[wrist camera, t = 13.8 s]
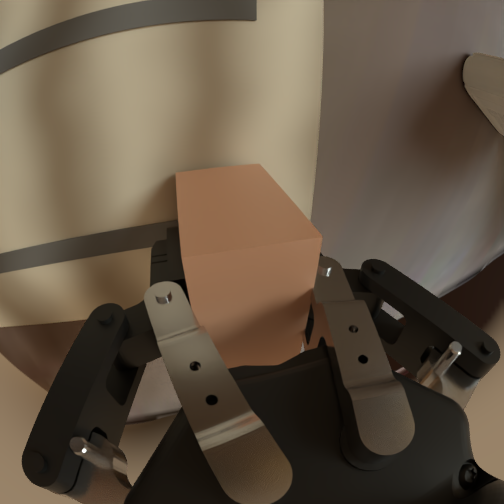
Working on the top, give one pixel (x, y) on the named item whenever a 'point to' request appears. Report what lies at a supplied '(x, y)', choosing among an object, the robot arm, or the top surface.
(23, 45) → the fader console
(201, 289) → the block
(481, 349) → the robot arm
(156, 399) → the top surface
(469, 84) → the photo printer
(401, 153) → the top surface
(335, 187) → the top surface
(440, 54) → the top surface
